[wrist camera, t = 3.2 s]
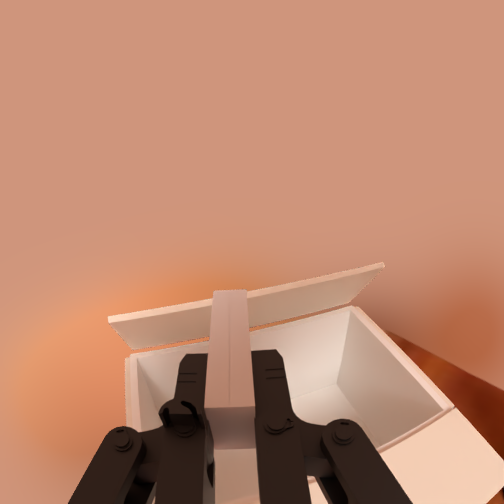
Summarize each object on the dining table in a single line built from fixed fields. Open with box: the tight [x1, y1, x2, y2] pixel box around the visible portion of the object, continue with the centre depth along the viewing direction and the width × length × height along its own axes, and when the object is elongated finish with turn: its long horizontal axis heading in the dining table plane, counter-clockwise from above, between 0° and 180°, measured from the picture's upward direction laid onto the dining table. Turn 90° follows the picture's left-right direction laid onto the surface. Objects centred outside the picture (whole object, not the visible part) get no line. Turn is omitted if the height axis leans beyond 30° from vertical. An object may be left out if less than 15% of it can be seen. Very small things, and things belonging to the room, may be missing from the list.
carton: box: [125, 306, 504, 504], centre depth 26 cm, size 29×30×16 cm
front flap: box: [108, 262, 385, 350], centre depth 32 cm, size 27×10×1 cm
